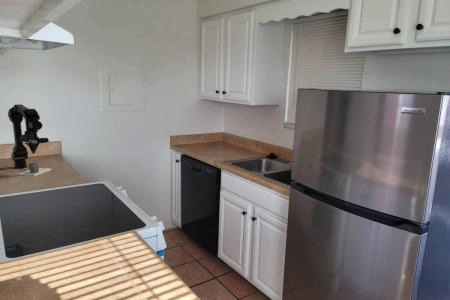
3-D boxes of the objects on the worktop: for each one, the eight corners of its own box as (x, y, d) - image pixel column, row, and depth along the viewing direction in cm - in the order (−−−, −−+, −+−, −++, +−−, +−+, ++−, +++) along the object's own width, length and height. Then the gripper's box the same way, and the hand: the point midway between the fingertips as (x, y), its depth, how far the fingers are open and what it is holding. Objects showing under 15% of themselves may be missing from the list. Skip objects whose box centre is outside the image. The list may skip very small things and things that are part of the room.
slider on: (29, 169, 219) (28, 163, 218) (33, 168, 222) (32, 162, 222) (33, 169, 218) (32, 163, 217) (37, 168, 222) (36, 162, 221)
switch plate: (17, 175, 209) (17, 173, 209) (34, 169, 225) (34, 167, 225) (34, 176, 208) (34, 174, 207) (51, 170, 223) (51, 168, 223)
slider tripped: (30, 172, 210) (29, 166, 209) (34, 171, 214) (34, 165, 213) (34, 173, 209) (34, 166, 209) (38, 171, 213) (38, 165, 213)
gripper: (7, 130, 200) (10, 155, 203) (35, 130, 197) (38, 156, 200) (21, 128, 211) (24, 152, 213) (48, 128, 208) (50, 153, 211)
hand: (33, 153), depth 209 cm, fingers closed
